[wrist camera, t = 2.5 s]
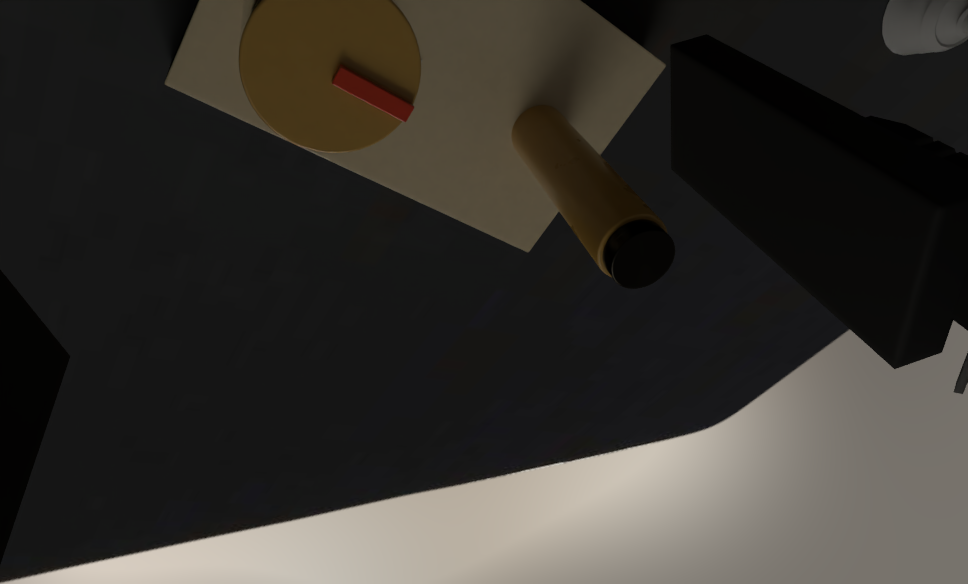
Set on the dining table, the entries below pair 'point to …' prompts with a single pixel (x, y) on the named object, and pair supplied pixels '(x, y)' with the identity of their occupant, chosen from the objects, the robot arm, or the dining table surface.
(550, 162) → the brown tall cylinder
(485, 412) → the dining table surface
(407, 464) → the dining table surface
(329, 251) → the dining table surface
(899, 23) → the chalice
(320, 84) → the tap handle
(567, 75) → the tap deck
